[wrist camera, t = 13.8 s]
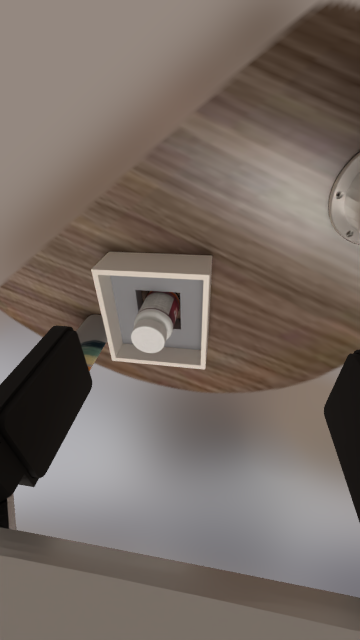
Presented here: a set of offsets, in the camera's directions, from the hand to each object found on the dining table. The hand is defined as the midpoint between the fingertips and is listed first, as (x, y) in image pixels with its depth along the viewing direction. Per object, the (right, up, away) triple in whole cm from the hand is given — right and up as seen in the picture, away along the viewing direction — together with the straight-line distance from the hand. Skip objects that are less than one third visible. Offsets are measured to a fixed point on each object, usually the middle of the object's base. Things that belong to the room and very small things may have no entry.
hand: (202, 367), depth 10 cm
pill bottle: (-4, +5, +39) cm, 39 cm away
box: (-4, +5, +39) cm, 39 cm away
